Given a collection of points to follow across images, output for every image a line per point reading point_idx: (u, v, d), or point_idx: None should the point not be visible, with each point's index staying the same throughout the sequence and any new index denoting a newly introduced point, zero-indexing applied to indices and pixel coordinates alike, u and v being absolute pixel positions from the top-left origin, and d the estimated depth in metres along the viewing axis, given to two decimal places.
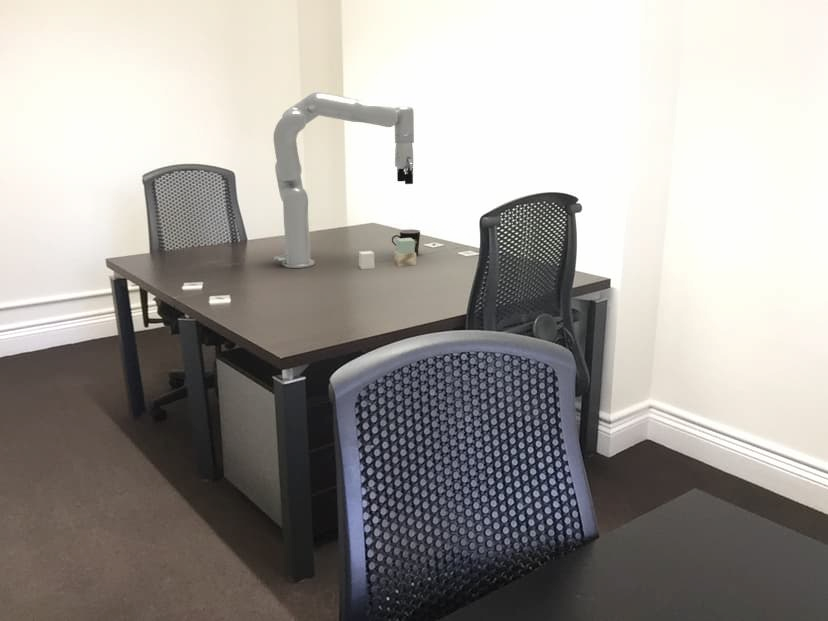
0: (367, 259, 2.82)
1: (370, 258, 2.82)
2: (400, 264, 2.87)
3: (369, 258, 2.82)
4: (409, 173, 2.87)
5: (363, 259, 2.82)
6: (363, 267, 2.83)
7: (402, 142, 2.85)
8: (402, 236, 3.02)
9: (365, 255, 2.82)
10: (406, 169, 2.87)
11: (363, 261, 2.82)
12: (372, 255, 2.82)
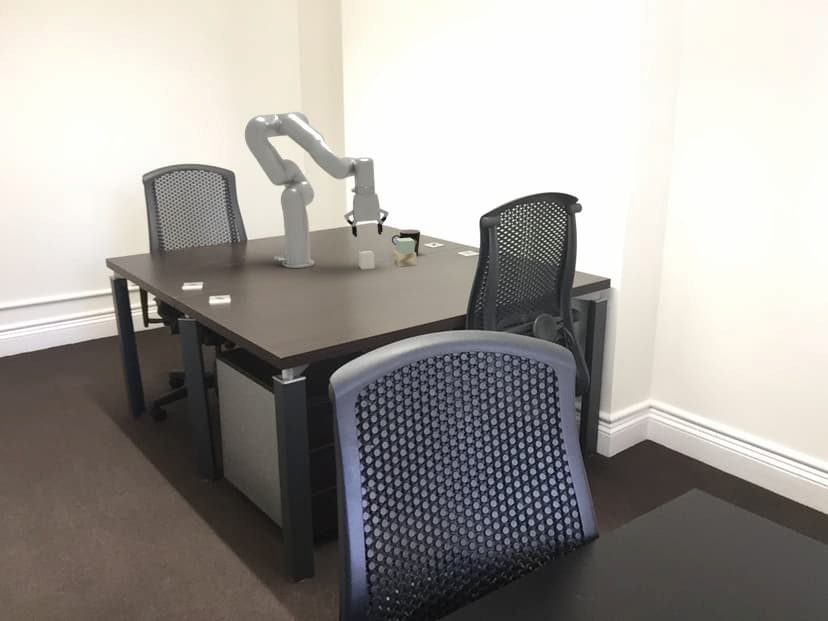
0: (367, 259, 2.82)
1: (370, 258, 2.83)
2: (400, 264, 2.87)
3: (369, 258, 2.82)
4: None
5: (363, 259, 2.82)
6: (363, 267, 2.83)
7: (374, 193, 2.76)
8: (402, 236, 3.02)
9: (365, 255, 2.82)
10: (380, 219, 2.81)
11: (363, 261, 2.82)
12: (372, 255, 2.82)
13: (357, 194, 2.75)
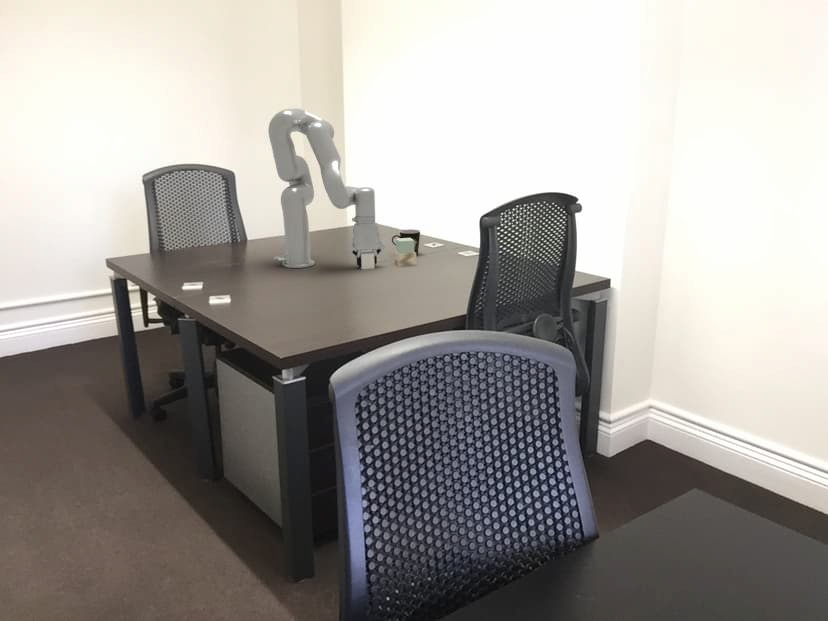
0: (367, 258, 2.82)
1: (370, 258, 2.82)
2: (400, 264, 2.87)
3: (369, 258, 2.82)
4: None
5: (363, 259, 2.82)
6: (363, 267, 2.83)
7: (374, 223, 2.80)
8: (402, 236, 3.02)
9: (365, 255, 2.82)
10: (376, 251, 2.84)
11: (363, 261, 2.82)
12: (372, 255, 2.82)
13: (357, 223, 2.78)
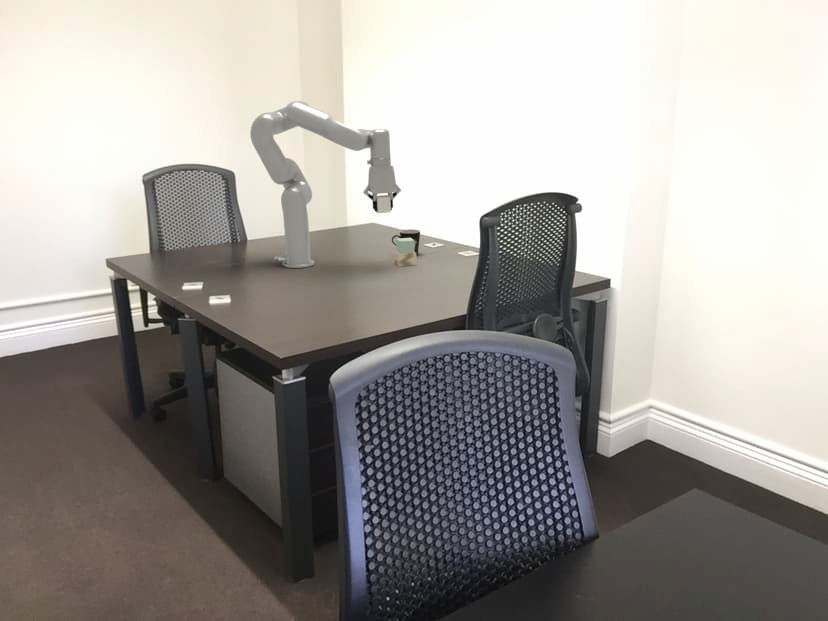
0: (383, 202, 2.78)
1: (386, 201, 2.78)
2: (400, 264, 2.87)
3: (385, 201, 2.78)
4: None
5: (379, 202, 2.78)
6: (379, 211, 2.79)
7: (390, 165, 2.75)
8: (402, 236, 3.02)
9: (381, 198, 2.77)
10: (392, 195, 2.80)
11: (379, 205, 2.78)
12: (388, 198, 2.78)
13: (373, 166, 2.74)
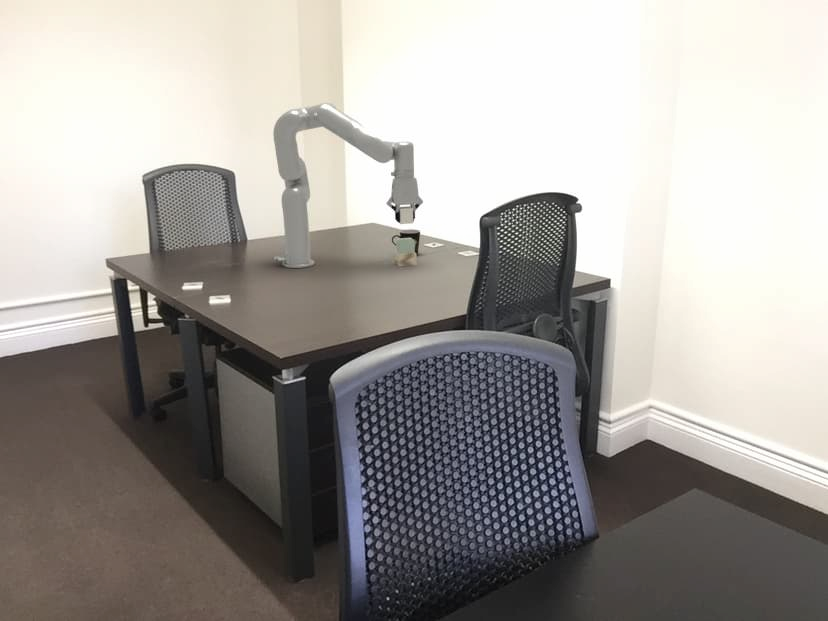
0: (405, 213, 2.82)
1: (408, 212, 2.83)
2: (400, 264, 2.87)
3: (408, 212, 2.83)
4: None
5: (402, 214, 2.82)
6: (402, 222, 2.83)
7: (413, 177, 2.80)
8: (402, 236, 3.02)
9: (404, 210, 2.82)
10: (415, 206, 2.84)
11: (402, 216, 2.82)
12: (411, 210, 2.83)
13: (397, 178, 2.79)
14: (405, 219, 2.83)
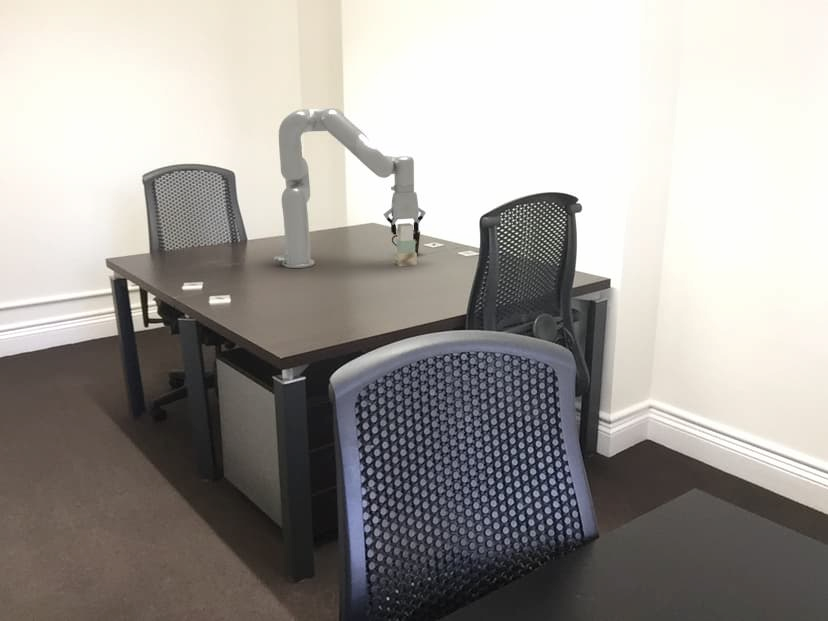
0: (406, 230, 2.85)
1: (409, 230, 2.85)
2: (401, 264, 2.87)
3: (408, 229, 2.85)
4: None
5: (402, 231, 2.84)
6: (402, 239, 2.85)
7: (413, 192, 2.82)
8: None
9: (404, 227, 2.84)
10: (417, 218, 2.86)
11: (402, 233, 2.84)
12: (411, 227, 2.85)
13: (397, 192, 2.80)
14: (405, 236, 2.85)
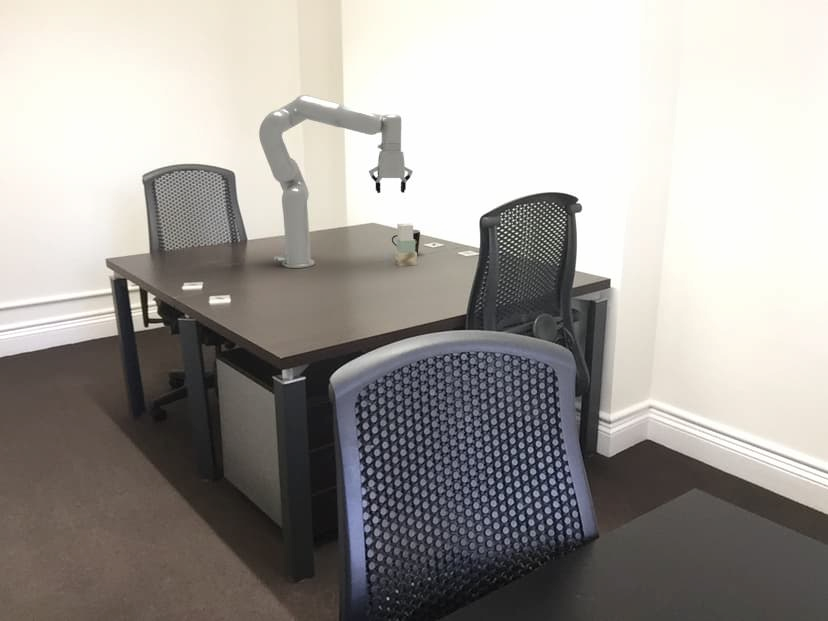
0: (406, 230, 2.85)
1: (409, 230, 2.85)
2: (401, 264, 2.87)
3: (408, 229, 2.85)
4: None
5: (402, 231, 2.84)
6: (402, 239, 2.85)
7: (400, 151, 2.79)
8: None
9: (404, 227, 2.84)
10: (404, 177, 2.84)
11: (402, 233, 2.84)
12: (411, 227, 2.85)
13: (383, 150, 2.78)
14: (405, 236, 2.85)
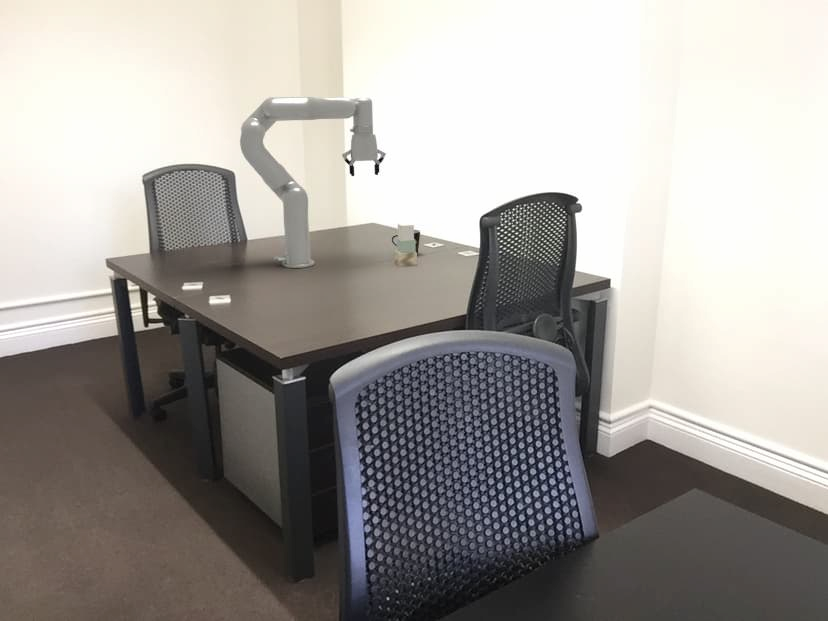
0: (406, 230, 2.85)
1: (409, 229, 2.85)
2: (401, 264, 2.87)
3: (409, 229, 2.85)
4: None
5: (403, 231, 2.84)
6: (403, 239, 2.85)
7: (372, 133, 2.83)
8: None
9: (405, 227, 2.84)
10: (378, 160, 2.87)
11: (403, 233, 2.84)
12: (412, 227, 2.85)
13: (355, 133, 2.81)
14: (406, 236, 2.85)
